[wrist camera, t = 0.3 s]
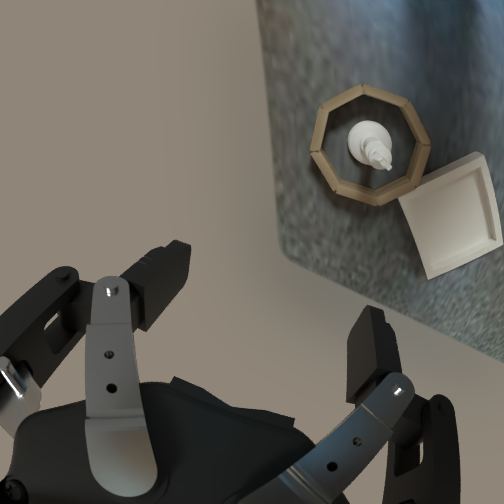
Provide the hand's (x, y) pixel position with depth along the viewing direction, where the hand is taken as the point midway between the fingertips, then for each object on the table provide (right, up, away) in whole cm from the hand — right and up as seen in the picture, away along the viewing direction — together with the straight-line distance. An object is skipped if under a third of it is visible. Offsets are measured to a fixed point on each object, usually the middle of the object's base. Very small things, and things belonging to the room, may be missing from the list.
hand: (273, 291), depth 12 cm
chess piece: (+12, +13, +14) cm, 23 cm away
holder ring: (+12, +13, +14) cm, 22 cm away
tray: (+23, +6, +14) cm, 28 cm away
